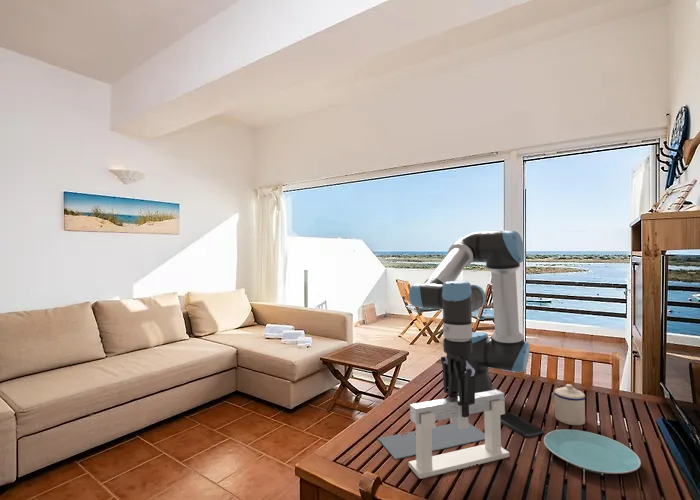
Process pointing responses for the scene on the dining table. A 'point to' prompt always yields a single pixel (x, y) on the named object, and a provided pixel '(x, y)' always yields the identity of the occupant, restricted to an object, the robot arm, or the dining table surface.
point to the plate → (592, 451)
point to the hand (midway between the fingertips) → (459, 424)
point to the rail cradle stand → (460, 458)
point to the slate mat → (440, 439)
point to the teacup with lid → (569, 405)
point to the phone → (520, 425)
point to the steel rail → (453, 406)
